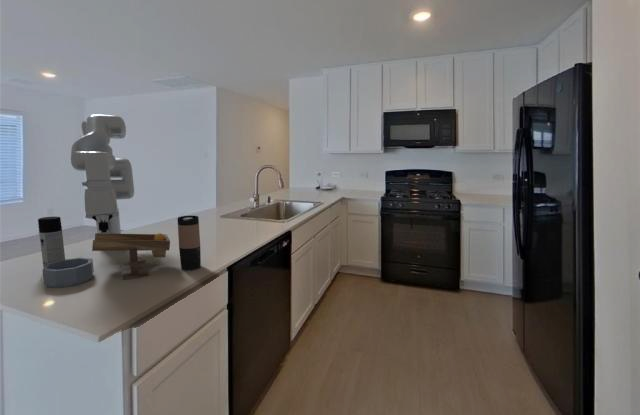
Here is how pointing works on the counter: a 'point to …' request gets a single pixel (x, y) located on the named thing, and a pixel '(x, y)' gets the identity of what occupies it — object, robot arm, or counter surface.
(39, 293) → the counter surface
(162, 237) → the ball
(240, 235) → the counter surface
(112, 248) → the lever tray
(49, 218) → the spray can
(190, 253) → the travel mug
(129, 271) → the pivot stand
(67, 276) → the octagonal bowl
